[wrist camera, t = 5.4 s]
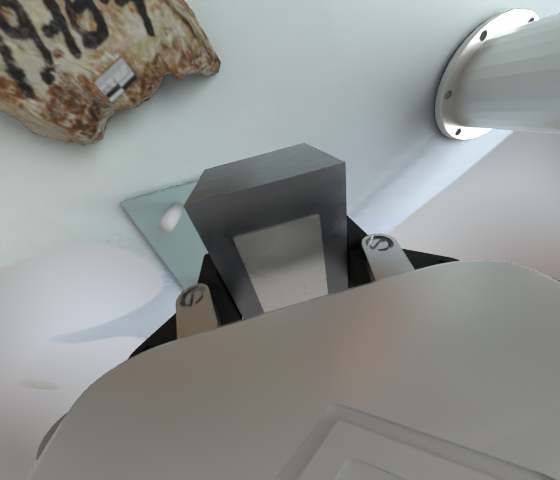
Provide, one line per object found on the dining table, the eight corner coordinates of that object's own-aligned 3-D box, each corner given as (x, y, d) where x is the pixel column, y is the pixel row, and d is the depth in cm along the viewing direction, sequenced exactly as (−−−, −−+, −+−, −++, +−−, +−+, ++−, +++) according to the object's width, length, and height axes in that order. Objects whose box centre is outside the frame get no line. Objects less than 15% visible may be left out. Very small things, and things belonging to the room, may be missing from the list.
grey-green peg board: (214, 175, 26) (209, 190, 21) (254, 273, 36) (257, 299, 31) (124, 200, 25) (96, 221, 20) (190, 291, 35) (182, 321, 30)
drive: (304, 143, 10) (346, 163, 6) (321, 273, 15) (349, 328, 11) (204, 169, 10) (182, 207, 6) (256, 291, 15) (262, 354, 11)
